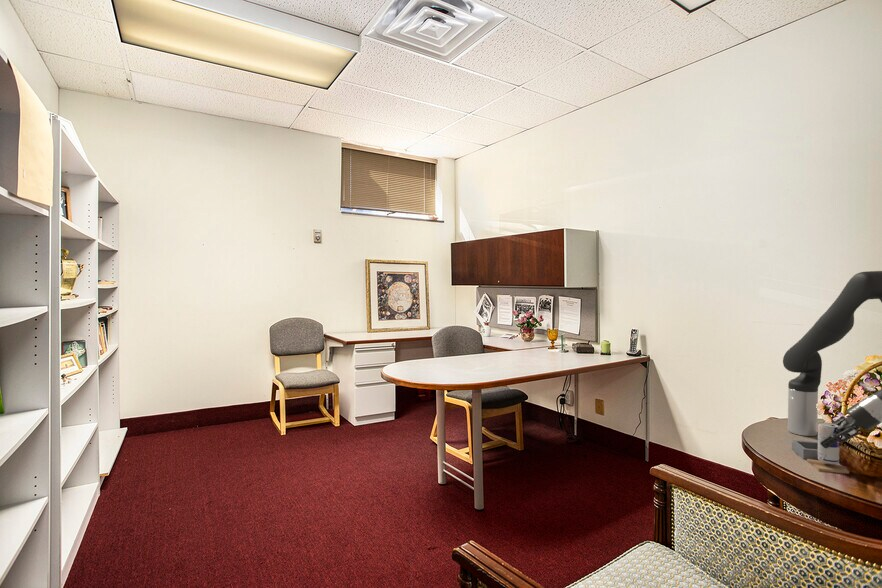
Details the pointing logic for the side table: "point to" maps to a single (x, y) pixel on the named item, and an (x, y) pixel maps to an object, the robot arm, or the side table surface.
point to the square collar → (805, 449)
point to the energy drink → (831, 452)
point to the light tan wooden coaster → (827, 466)
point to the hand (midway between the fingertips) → (821, 442)
